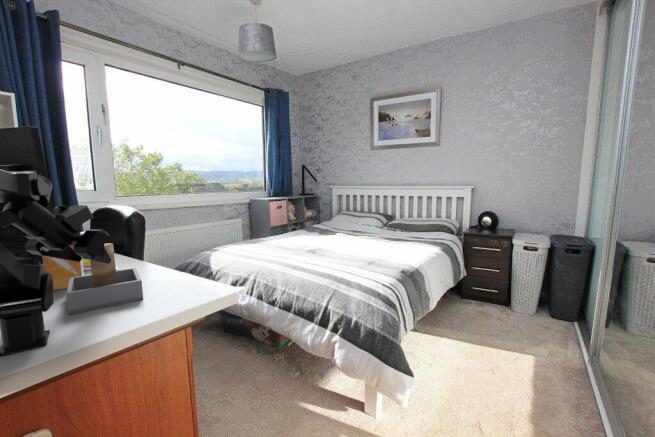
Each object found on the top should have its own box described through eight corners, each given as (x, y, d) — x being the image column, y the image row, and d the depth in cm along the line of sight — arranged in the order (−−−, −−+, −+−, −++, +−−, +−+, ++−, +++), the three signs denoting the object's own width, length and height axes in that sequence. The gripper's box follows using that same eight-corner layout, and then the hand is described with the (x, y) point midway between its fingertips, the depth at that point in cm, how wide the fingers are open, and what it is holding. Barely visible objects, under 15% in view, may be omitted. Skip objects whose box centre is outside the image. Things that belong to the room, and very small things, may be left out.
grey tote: (143, 299, 80) (141, 280, 79) (68, 314, 71) (66, 293, 70) (136, 284, 91) (135, 267, 91) (72, 296, 83) (70, 277, 82)
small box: (46, 292, 86) (40, 245, 85) (50, 285, 91) (44, 241, 90) (83, 286, 91) (78, 241, 89) (85, 280, 96) (80, 238, 94)
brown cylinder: (118, 295, 80) (113, 245, 79) (94, 300, 77) (88, 248, 76) (117, 290, 84) (112, 242, 83) (94, 294, 81) (88, 245, 80)
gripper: (97, 193, 68) (143, 235, 80) (33, 194, 73) (86, 233, 85) (62, 235, 61) (118, 274, 73) (-5, 233, 66) (58, 270, 78)
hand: (95, 261), depth 78 cm, fingers open, 9 cm apart
